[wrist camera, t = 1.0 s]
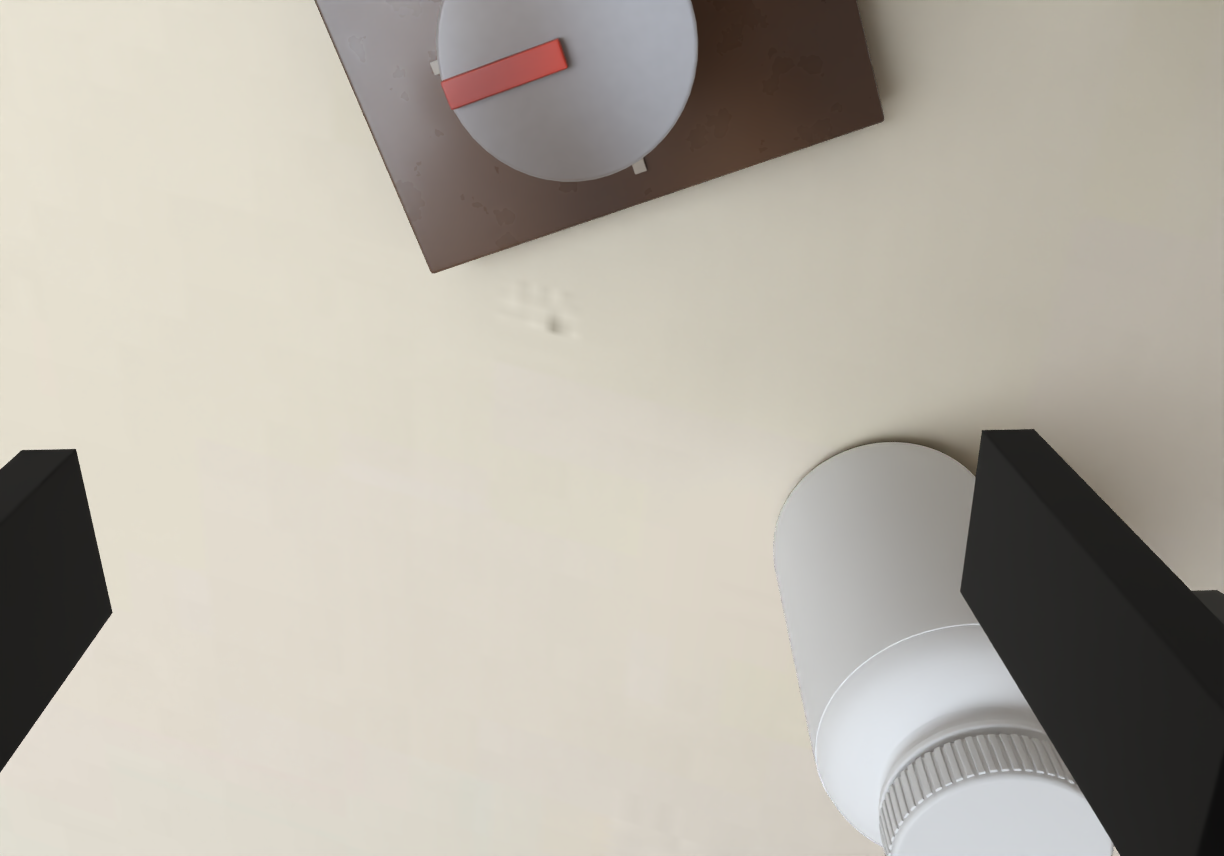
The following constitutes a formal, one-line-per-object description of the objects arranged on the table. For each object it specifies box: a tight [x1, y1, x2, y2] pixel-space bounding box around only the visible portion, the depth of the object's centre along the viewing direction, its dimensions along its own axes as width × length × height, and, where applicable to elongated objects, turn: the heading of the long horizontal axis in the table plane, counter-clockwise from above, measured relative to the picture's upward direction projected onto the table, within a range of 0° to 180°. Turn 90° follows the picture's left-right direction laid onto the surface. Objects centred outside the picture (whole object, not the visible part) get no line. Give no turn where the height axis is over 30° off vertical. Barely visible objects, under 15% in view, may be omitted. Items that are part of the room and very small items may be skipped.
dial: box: [436, 0, 698, 182], centre depth 25 cm, size 5×5×10 cm
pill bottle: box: [773, 442, 1114, 856], centre depth 33 cm, size 8×8×15 cm
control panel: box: [315, 0, 884, 273], centre depth 31 cm, size 14×11×3 cm
